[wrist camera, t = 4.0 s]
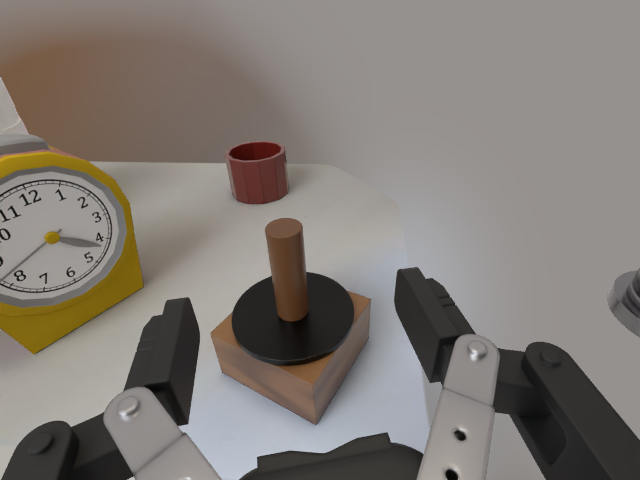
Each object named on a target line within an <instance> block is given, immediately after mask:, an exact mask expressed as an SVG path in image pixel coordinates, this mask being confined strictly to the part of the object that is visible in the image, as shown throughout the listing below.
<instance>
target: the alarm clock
mask: <svg viewBox="0 0 640 480" xmlns="http://www.w3.org/2000/svg"><path fill="white" fill-rule="evenodd" d="M142 287H144V286H143V280H142V274H141V269H140V263H139V258H138V252H137V246H136V241H135V235H134V228H133V222H132V215H131V208H130V203H129V201H128V200H127V198H126V197H125V195H124V194H123V192H122V190H121V189H120V187H119V186H118V184H117V183H116V181H115V180H114V179H113V178H112V177H110V176H109V175H107V174H106V173H104V172H103V171H101V170H100V169H98V168H97V167H95V166H94V165H93V164H91V163H90V162H88V161H86V160H83V159H81V158H78V157H76V156H73V155H71V154H68V153H66V152H63V151H61V150H58V149H56V148H53V147H51V146H48V144H47V142H46V141H45V140H44V139H42V138H39V137H36V136H34V135H24V134H6V135H0V328H1V329H2V330H4V331H5V332H6V333H8V334H9V335H10V336H11V337H13V338H14V339H15V340H16V341H18V342H19V343H20V344H21V345H23V346H24V347H25V348H26V349H28V350H29V351H30V352H31V353H33V354H35V353H37V352H38V351H40V350H42V349H43V348H45V347H47V346H48V345H50V344H51V343H53V342H55V341H56V340H58V339H60V338H61V337H63V336H64V335H66V334H68V333H69V332H71V331H73V330H74V329H76V328H77V327H79V326H81V325H82V324H84V323H86V322H87V321H89V320H90V319H92V318H94V317H95V316H97V315H99V314H100V313H102V312H103V311H105V310H107V309H108V308H110V307H112V306H113V305H115V304H116V303H118V302H120V301H121V300H123V299H125V298H126V297H128V296H129V295H131V294H133V293H134V292H136V291H138V290H139V289H141V288H142Z"/></svg>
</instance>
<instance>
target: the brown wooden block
mask: <svg viewBox="0 0 640 480" xmlns="http://www.w3.org/2000/svg"><path fill="white" fill-rule="evenodd" d="M270 277H271V276H270ZM346 291H347V290H346ZM347 292H348V294H349V295H350V297H351V299H352V302H353V305H354V324H353V327H352V330H351V332H350V334H349V336H348V338H347V339H346V340H345V341H344V343H343V344H342V345H341V346H340V347H339V348H338V349H336V350H335V351H334V352H332V353H331V354H329V355H328V356H326V357H324V358H322V359H319V360H317V361H314V362H311V363H308V364H303V365H296V366H279V365H272V364H268V363H265V362H262V361H259V360H257V359H255V358H253V357H252V356H250V355H249V354H247V353H246V352H245V351H244V350H243V349H242V348H241V347H240V346H239V344H238V343H237V341H236V339H235V336H234V334H233V330H232V324H231V321H232V313H233V312H232V313H231V314H230V315H229V316H228V317H227V318H226V319H225V320H224V321H223V322H222V323H220V324H219V325H218V326H217V327H216V328H215V329H214V330H213V331H212V332H211V333H210V334H211V338H212V341H213V344H214V347H215V351H216V354H217V357H218V361H219V364H220V367H221V370H222V373H224V374H226V375H228V376H230V377H231V378H233V379H235V380H237V381H238V382H240V383H242V384H244V385H246V386H247V387H249V388H251V389H253V390H254V391H256V392H258V393H260V394H262V395H263V396H265V397H267V398H269V399H270V400H272V401H274V402H276V403H278V404H279V405H281V406H283V407H285V408H286V409H288V410H290V411H292V412H294V413H295V414H297V415H299V416H301V417H302V418H304V419H306V420H308V421H310V422H311V423H313V424H315V425H317V423H318V421H319V420H320V418H321V416H322V415H323V413H324V411H325V410H326V408H327V406H328V405H329V403H330V401H331V400H332V398H333V396H334V395H335V393H336V391H337V390H338V388H339V386H340V385H341V383H342V381H343V380H344V378H345V376H346V375H347V373H348V372H349V370H350V368H351V367H352V365H353V363H354V362H355V360H356V358H357V357H358V355H359V353H360V352H361V350H362V348H363V347H364V345H365V343H366V342H367V340H368V338H369V322H370V303H371V299H369V298H367V297H364V296H361V295H358V294H355V293H352V292H350V291H347Z"/></svg>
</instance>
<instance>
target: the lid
mask: <svg viewBox="0 0 640 480" xmlns="http://www.w3.org/2000/svg"><path fill="white" fill-rule="evenodd" d="M265 232H266V239H267V246H268V253H269V259H270V266H271V273H272V276H271V277H268V278H266V279H264V280H262V281H260V282H258V283H256V284H255V285H253V286H252V287H250V288H249V289H248V290H247V291H246V292H245V293H244V294H243V295H242V296H241V297H240V299H239V300H238V301H237V303H236V305H235V307H234V310H233V313H232V321H231V324H232V330H233V334H234V336H235V339H236V341H237V343H238V344H239V346H240V347H241V348H242V349H243V350H244V351H245V352H246V353H247V354H249V355H250V356H252V357H253V358H255V359H257V360H259V361H262V362H265V363H268V364H272V365H279V366H296V365H303V364H308V363H311V362H314V361H317V360H319V359H322V358H324V357H326V356H328V355H329V354H331V353H332V352H334V351H335V350H336V349H338V348H339V347H340V346H341V345H342V344H343V343H344V341H345V340H346V339H347V338H348V336H349V334H350V332H351V330H352V327H353V324H354V305H353V302H352V299H351V297H350V295H349V294H348V292H347V291H346V290H345V289H344V288H343V287H342V286H341V285H340V284H339V283H337V282H336V281H334V280H332V279H330V278H328V277H326V276H323V275H320V274H316V273H310V272H306V265H305V252H304V239H303V227H302V224H301V223H300V222H299V221H298V220H295V219H292V218H281V219H277V220H274V221H272V222H270V223H269V224H268V225H267V226H266V228H265Z"/></svg>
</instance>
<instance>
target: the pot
mask: <svg viewBox="0 0 640 480" xmlns="http://www.w3.org/2000/svg"><path fill="white" fill-rule="evenodd" d="M225 159H226V164H227V169H228V175H229V180H230V185H231V190H232V195H233V196H234V197H235V199H236V200H237V201H240V202H244V203H247V204H264V203H268V202H272V201H275V200H279V199H280V198H282V197H283V196H285V195H286V194H287V193H288V189H289V182H288V172H287V162H286V151H285V147H284V146H283V145H281V144H280V143H277V142H272V141H251V142H246V143H242V144H238V145H236V146H233V147H232V148H229V149H228V150H227V152H226V153H225Z"/></svg>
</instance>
